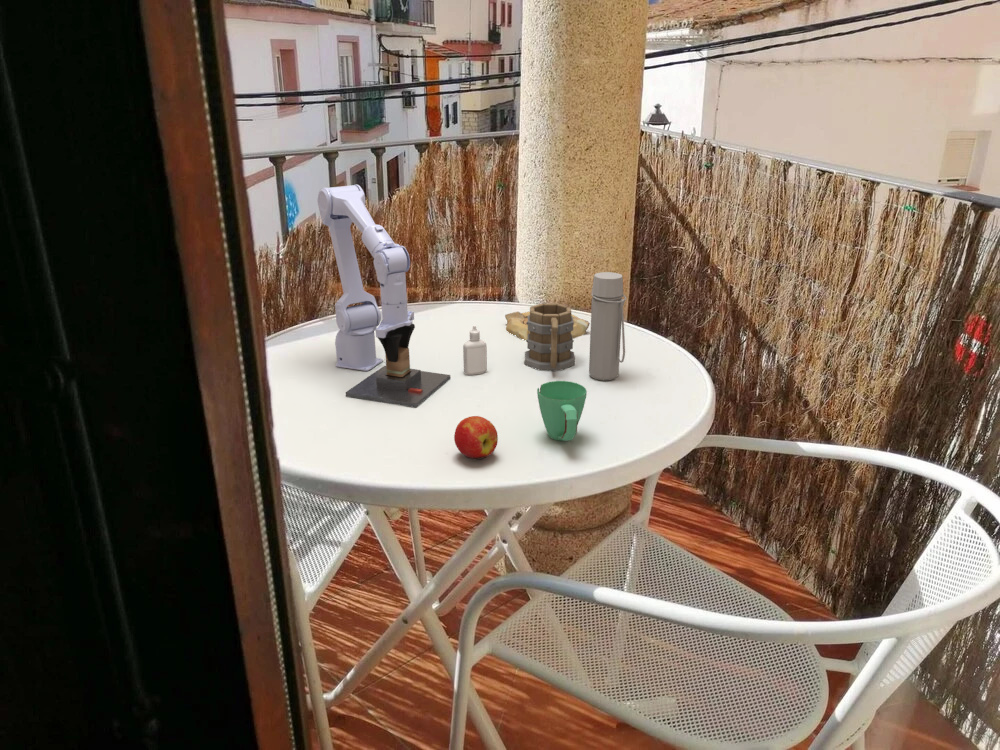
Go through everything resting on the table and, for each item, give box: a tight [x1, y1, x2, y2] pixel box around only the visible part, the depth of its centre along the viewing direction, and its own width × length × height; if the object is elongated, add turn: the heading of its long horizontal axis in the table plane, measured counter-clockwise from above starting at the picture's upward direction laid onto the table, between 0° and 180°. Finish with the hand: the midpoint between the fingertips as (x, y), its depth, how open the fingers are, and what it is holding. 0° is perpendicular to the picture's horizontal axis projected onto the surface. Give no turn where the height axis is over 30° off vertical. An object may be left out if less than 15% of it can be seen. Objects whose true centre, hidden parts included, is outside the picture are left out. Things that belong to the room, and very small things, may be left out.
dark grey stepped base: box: [345, 365, 451, 409], centre depth 178 cm, size 18×18×4 cm
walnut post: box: [384, 347, 411, 377], centre depth 176 cm, size 4×4×6 cm
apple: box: [453, 415, 499, 460], centre depth 145 cm, size 8×8×8 cm
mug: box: [536, 380, 588, 442], centre depth 151 cm, size 15×10×10 cm
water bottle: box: [588, 271, 627, 382], centre depth 179 cm, size 9×8×25 cm
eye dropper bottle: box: [462, 325, 488, 376], centre depth 185 cm, size 4×6×12 cm
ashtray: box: [504, 311, 591, 341], centre depth 217 cm, size 24×24×5 cm
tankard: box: [524, 302, 576, 371], centre depth 188 cm, size 20×13×15 cm, turn 178°
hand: (397, 357), depth 176 cm, fingers closed on walnut post, 4 cm apart
